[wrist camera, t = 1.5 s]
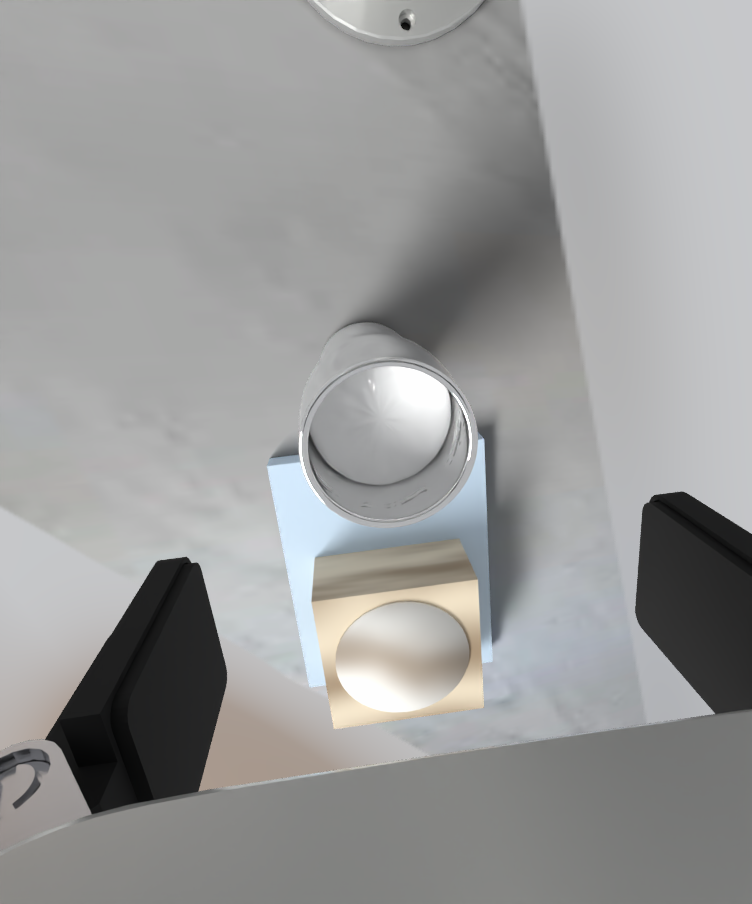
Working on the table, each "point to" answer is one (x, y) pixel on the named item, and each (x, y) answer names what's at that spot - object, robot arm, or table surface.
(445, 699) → the plinth
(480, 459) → the blueprint board
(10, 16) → the table surface
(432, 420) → the beer glass
